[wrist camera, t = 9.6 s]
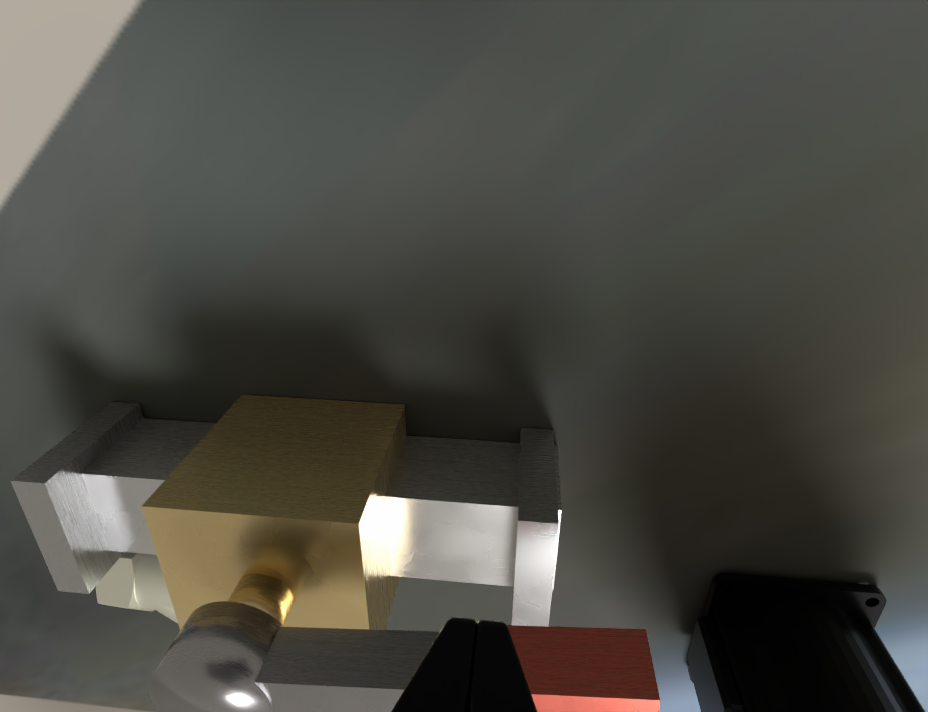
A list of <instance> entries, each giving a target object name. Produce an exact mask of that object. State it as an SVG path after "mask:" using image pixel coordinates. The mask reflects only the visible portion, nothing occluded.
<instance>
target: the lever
mask: <svg viewBox="0 0 928 712" xmlns="http://www.w3.org/2000/svg"><path fill="white" fill-rule="evenodd" d="M477 625H478V624H477ZM507 626H508V629H509V631H510V634H511V637H512V640H513V643H514V646H515V649H516V652H517V655H518V657H519V660H520V663H521V666H522V669H523V672H524V675H525V678H526V681H527V683H528V686H529V689H530V692H531V695H532V698H533V701H534V704H535V707H536V709H537V712H659V706H660V698H659V693H658V688H657V683H656V678H655V673H654V668H653V663H652V658H651V653H650V648H649V643H648V638H647V633H646V630H645V629H613V628H580V627H547V626H515V625H507ZM439 633H440V632H431V631H401V630H370V629H340V628H309V627H284V626H283V625H282V624H281V623H280V622H279V621H278V620H277V619H275V618H274V617H272V616H271V615H270V614H268V613H266V612H264V611H262V610H260V609H258V608H255V607H253V606H250V605H246V604H243V603H237V602H229V601H219V602H212V603H208V604H205V605H202V606H200V607H199V608H197V609H196V610H194V611H193V612H192V614H191V615H190V616H189V618H188V619H187V621H186V622H185V624H184V626H183V627H182V629H181V630H180V632H179V634H178V635H177V637H176V638H175V640H174V641H173V643H172V645H171V646H170V648H169V649H168V651H167V653H166V654H165V656H164V657H163V659H162V660H161V662H160V664H159V665H158V667H157V668H156V670H155V672H154V673H153V675H152V676H151V678H150V680H149V684H148V692H149V696H150V699H151V701H152V703H153V704H154V706H155V707H156V709H157V710H158V711H159V712H391V711H392V709H393V708H394V706H395V704H396V703H397V701H398V700H399V698H400V696H401V695H402V693H403V691H404V690H405V688H406V687H407V685H408V683H409V682H410V680H411V678H412V677H413V675H414V674H415V672H416V670H417V669H418V667H419V665H420V664H421V662H422V660H423V659H424V657H425V656H426V654H427V652H428V651H429V649H430V647H431V646H432V644H433V643H434V641H435V639H436V638H437V636H438V634H439Z"/></svg>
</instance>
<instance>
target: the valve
mask: <svg viewBox="0 0 928 712" xmlns="http://www.w3.org/2000/svg"><path fill="white" fill-rule="evenodd" d="M11 483H12V486H13V488H14V490H15V493H16V495H17V497H18V499H19V502H20V504H21V506H22V509H23V511H24V513H25V516H26V518H27V520H28V522H29V525H30V527H31V529H32V532H33V534H34V536H35V539H36V541H37V543H38V545H39V548H40V550H41V552H42V555H43V557H44V559H45V561H46V564H47V566H48V568H49V571H50V573H51V575H52V578H53V580H54V582H55V584H56V587H57V589H58V591H65V592H75V593H85V594H89V593H90V592H91V591H92V590H93V589H94V588H95V586H96V585H97V584H98V583H99V582H100V581H101V579H102V578H103V577H104V576H105V575H106V573H107V572H108V571H109V570H110V569H111V568H112V566H113V565H114V564H115V563H116V562H117V561H118V559H119V558H120V557H121V556H122V555H123V553H124V552H131V553H142V554H154V555H157V558H158V561H159V564H160V567H161V570H162V573H163V576H164V580H165V583H166V586H167V589H168V592H169V595H170V599H171V602H172V605H173V608H174V611H175V614H176V618H177V621H178V624H179V627H180V630H181V629H182V627H183V626H184V624H185V622H186V621H187V619H188V618H189V616H190V615H191V614H192V612H193V611H194V610H196V609H197V608H199V607H200V606H202V605H205V604H208V603H212V602H219V601H229V602H237V603H243V604H246V605H250V606H253V607H255V608H258V609H260V610H262V611H264V612H266V613H268V614H270V615H271V616H272V617H274V618H275V619H277V620H278V621H279V622H280V623H281V624H282V625H283V626H284V627H309V628H340V629H370V630H386V626H387V622H388V619H389V615H390V611H391V607H392V603H393V600H394V596H395V592H396V588H397V585H398V581H399V577H411V578H422V579H433V580H445V581H456V582H467V583H478V584H489V585H501V586H512V587H513V599H512V625H515V626H547V627H548V625H549V615H550V605H551V595H552V590H553V589H554V579H555V570H556V560H557V550H558V541H559V531H560V521H561V512H562V508H561V493H560V478H559V463H558V447H557V445H554V431H553V430H552V429H536V428H521V438H520V443H512V442H497V441H482V440H466V439H451V438H436V437H421V436H406V419H405V405H404V404H387V403H371V402H354V401H338V400H321V399H305V398H288V397H272V396H255V395H241V396H240V398H239V399H238V400H237V401H236V402H235V403H234V404H233V405H232V406H231V408H230V409H229V410H228V411H227V412H226V413H225V414H224V415H223V416H222V418H221V419H220V420H219V421H218V422H217V423H208V422H192V421H177V420H162V419H147V418H144V417H143V413H142V410H141V406H140V403H124V402H111V403H109V404H108V405H107V406H105V407H104V408H103V409H102V410H100V411H99V412H98V413H96V414H95V415H94V416H93V417H91V418H90V419H89V420H88V421H86V422H85V423H84V424H82V425H81V426H80V427H79V428H77V429H76V430H75V431H73V432H72V433H71V434H70V435H68V436H67V437H66V438H64V439H63V440H62V441H61V442H59V443H58V444H57V445H56V446H54V447H53V448H52V449H50V450H49V451H48V452H47V453H45V454H44V455H43V456H41V457H40V458H39V459H38V460H36V461H35V462H34V463H32V464H31V465H30V466H29V467H27V468H26V469H25V470H24V471H22V472H21V473H20V474H18V475H17V476H16V477H15V478H13V479H12V480H11Z"/></svg>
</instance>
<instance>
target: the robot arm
mask: <svg viewBox="0 0 928 712" xmlns="http://www.w3.org/2000/svg"><path fill="white" fill-rule="evenodd" d="M726 585H728V586H726ZM885 604H886V598H885V596H884V595H883V593H882V592H881V590H880V589H879V588H878V587H876V586H872V585H862V584H851V583H839V582H827V581H815V580H803V579H791V578H779V577H767V576H756V575H744V574H732V573H722V574H719V575H717V576H716V577H714V579H713V580H712V583H711V587H710V591H709V594H708V598H707V602H706V605H705V609H704V613H703V615H701V616H700V617H699V618H698V619H697V620H696V624H695V628H694V632H693V635H692V639H691V643H690V647H689V650H688V654H687V660H688V663H689V668H688V672H689V676H690V679H691V681H692V682H693V683H694V686H695V690H696V694H697V698H698V701H699V705H700V709H701V712H925V710H924V709H923V707H922V706H921V704H920V702H919V701H918V699H917V697H916V696H915V694H914V693H913V691H912V689H911V688H910V686H909V684H908V683H907V681H906V679H905V678H904V676H903V675H902V673H901V671H900V670H899V668H898V666H897V665H896V663H895V662H894V660H893V658H892V657H891V655H890V653H889V652H888V650H887V649H886V647H885V645H884V644H883V642H882V640H881V639H880V637H879V636H878V634H877V632H876V631H875V629H874V628H875V625H876V623H877V621H878V619H879V617H880V615H881V613H882V611H883V609H884V606H885ZM391 712H537V709H536V707H535V704H534V701H533V698H532V695H531V692H530V689H529V686H528V683H527V681H526V678H525V675H524V672H523V669H522V666H521V663H520V660H519V657H518V655H517V652H516V649H515V646H514V643H513V640H512V637H511V634H510V631H509V629H508V626H507V625H506V623H504V622H502V621H493V620H481V621H479V622H478V625H477V622H476V620H475V619H472V618H461V617H451V618H449V619H448V620H447V622H446V623H445V625H444V626H443V628H442V630H441V631H440V633H439V634H438V636H437V638H436V639H435V641H434V643H433V644H432V646H431V647H430V649H429V651H428V652H427V654H426V656H425V657H424V659H423V660H422V662H421V664H420V665H419V667H418V669H417V670H416V672H415V674H414V675H413V677H412V678H411V680H410V682H409V683H408V685H407V687H406V688H405V690H404V691H403V693H402V695H401V696H400V698H399V700H398V701H397V703H396V704H395V706H394V708H393V709H392V711H391Z"/></svg>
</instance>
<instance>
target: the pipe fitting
mask: <svg viewBox="0 0 928 712" xmlns="http://www.w3.org/2000/svg"><path fill="white" fill-rule="evenodd" d="M96 594H97V601H98V603H99V604H104V605H109V606H115V607H121V608H129V609H137V610H145V611H154V610H157V611H158V612H160V613H162V614H163V615H165V616H167V617H168V618H170V619H171V620H173V621H175V622H176V623H178V621H177V618H176V614H175V611H174V608H173V605H172V602H171V599H170V595H169V592H168V589H167V586H166V583H165V580H164V576H163V573H162V570H161V567H160V564H159V561H158V558H157V555H154V554H142V553H131V552H124V553H123V555H122V556H121V557H120V558H119V559H118V561H117V562H116V563H115V564H114V565H113V566H112V568H111V569H110V570H109V571H108V572H107V573H106V575H105V576H104V577H103V578H102V579H101V581H100V582H99V583H98V584H97V585H96Z"/></svg>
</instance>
